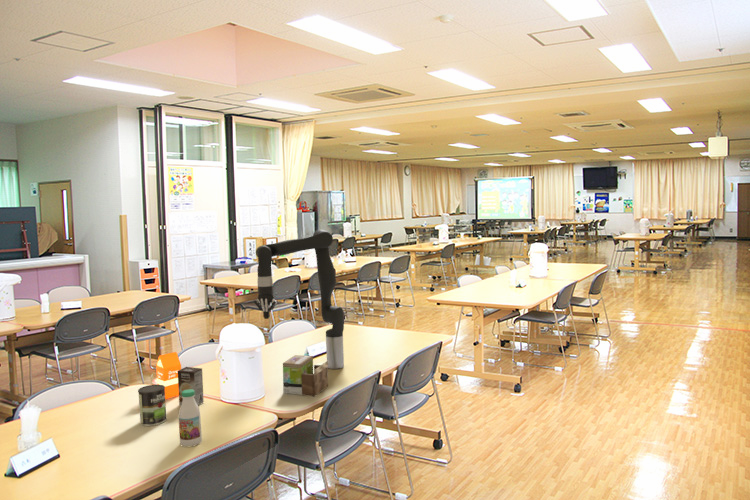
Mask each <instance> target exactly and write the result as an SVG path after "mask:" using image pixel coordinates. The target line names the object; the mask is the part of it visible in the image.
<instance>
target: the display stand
mask: <svg viewBox="0 0 750 500" xmlns="http://www.w3.org/2000/svg"><path fill="white" fill-rule="evenodd" d="M327 366H328V361H327V360H326V361H325V362H324V363H322V364H313V374H303V373H302V374H301V379H302V394H301V395H302V396H306V397H316V396H317V395H319V393H321V392H322V391H324V390H325V389H326V388H327V387H328V386H329V377H328V376H329V374H328V372H329V371H328V368H327Z"/></svg>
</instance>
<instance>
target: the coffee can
mask: <svg viewBox="0 0 750 500" xmlns="http://www.w3.org/2000/svg"><path fill="white" fill-rule="evenodd" d="M137 393H138V405H139V420H140V421H139V422H140V425H141V426H143V427H154V426H158V424H159V425H161V424H163V422H164V423H165V422H167V409H166V407H167V406H166V405H167V404H166V399H165V386H164V385H157V384H150V385H145V386H141V387H140V388H139V389H137Z"/></svg>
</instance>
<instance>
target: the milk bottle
mask: <svg viewBox="0 0 750 500" xmlns="http://www.w3.org/2000/svg"><path fill="white" fill-rule="evenodd" d="M194 396H195V391H194V390H193V389H188V390H184V391H182V398H183V401H182V405H180V407H179V411H178V428H179V429H178V430H179V444H180V446H181V445H182V446H181V447H183V446H192V447H194V445H195V446H198V445H200V444H201V443H202V441H203V438H202V419H201V418H202V417H201V411H200V406H198V405H197V403H196V401H195V398H194ZM200 442H201V443H200ZM199 443H200V444H199ZM197 444H198V445H197Z"/></svg>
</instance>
